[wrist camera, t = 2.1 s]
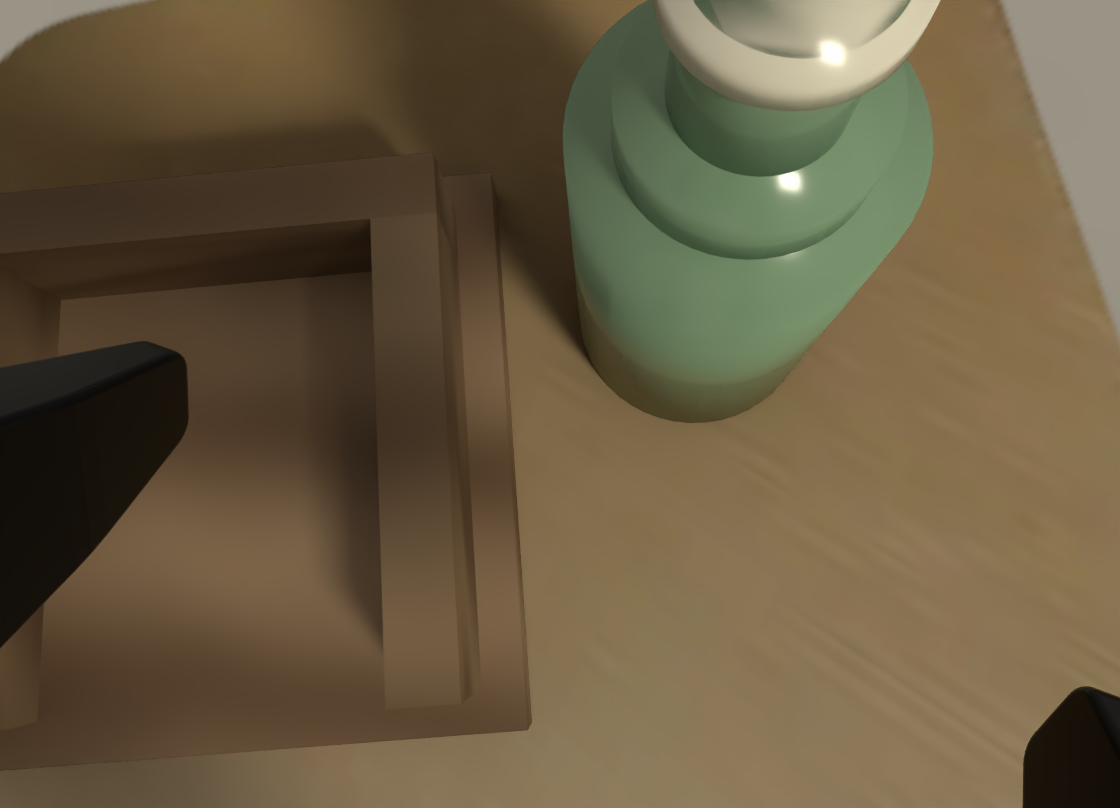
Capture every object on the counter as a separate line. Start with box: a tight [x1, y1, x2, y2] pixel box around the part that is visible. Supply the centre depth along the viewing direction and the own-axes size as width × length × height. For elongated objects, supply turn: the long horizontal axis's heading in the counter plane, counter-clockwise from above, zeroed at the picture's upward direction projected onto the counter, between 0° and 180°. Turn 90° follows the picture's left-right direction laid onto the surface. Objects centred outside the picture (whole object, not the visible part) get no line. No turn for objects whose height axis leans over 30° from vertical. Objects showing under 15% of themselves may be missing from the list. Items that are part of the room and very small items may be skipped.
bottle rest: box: [0, 152, 532, 771], centre depth 20 cm, size 14×14×4 cm
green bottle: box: [563, 0, 940, 423], centre depth 16 cm, size 6×6×13 cm
